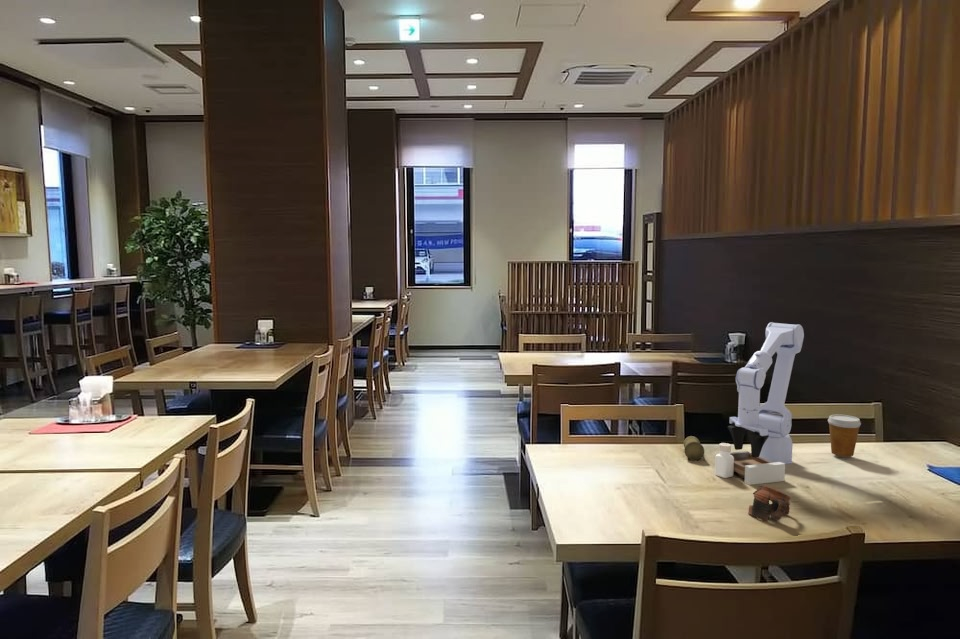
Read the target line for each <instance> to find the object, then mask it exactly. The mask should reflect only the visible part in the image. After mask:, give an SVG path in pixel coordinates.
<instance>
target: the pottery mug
mask: <svg viewBox="0 0 960 639" xmlns="http://www.w3.org/2000/svg"><path fill="white" fill-rule="evenodd" d="M752 495H753V502H752V505H749V506H748V515H749V516H753V517H755V518H757V519H760V520H761V521H764V522H769V518H770V517H771V519H772V520H774V521H777V520H780V519H781V518H782V516H784V515H789V513H790V509H791V508H790V505H791V504H790V499H791V497H790V496H789V495H787V494H786V493H784V492H782V491H780V490H777V489H775V488H772V487H769V486H766V485H761V484H760V485H759V489H757V490H755V491H754V492H753V493H752ZM770 502H771V503H770Z"/></svg>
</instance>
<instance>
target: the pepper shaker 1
mask: <svg viewBox="0 0 960 639" xmlns="http://www.w3.org/2000/svg"><path fill="white" fill-rule="evenodd" d="M683 447H684V456H685V457H686V458H688V460H690V461H699V460H701V459H703V457H704V455H705V448H704V446H703V444H702V443H701V442H700V440H699V439H698V438H697V437H696V436H692V435H690V436H687V437H686V438H685V439H684V441H683Z"/></svg>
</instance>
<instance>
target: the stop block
mask: <svg viewBox="0 0 960 639" xmlns="http://www.w3.org/2000/svg"><path fill="white" fill-rule="evenodd" d="M785 476H786V464H784V463H782V462H774V463H764V464H755V465H746V466H745V478H744V483H745V484H747V485H748V486H751V485H759V484H760V485H761V484H769V483H770V484H771V483H777V482H784V481H785Z"/></svg>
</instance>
